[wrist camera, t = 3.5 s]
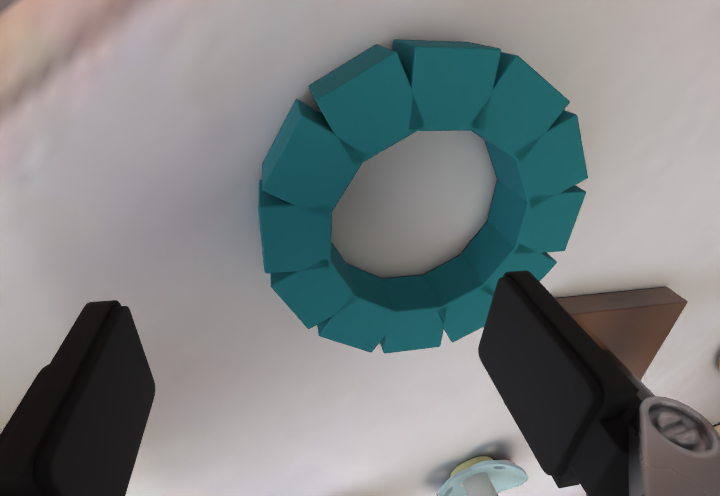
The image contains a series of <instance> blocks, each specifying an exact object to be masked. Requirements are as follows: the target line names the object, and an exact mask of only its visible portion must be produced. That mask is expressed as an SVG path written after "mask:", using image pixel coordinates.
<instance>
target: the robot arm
mask: <svg viewBox="0 0 720 496" xmlns="http://www.w3.org/2000/svg"><path fill="white" fill-rule="evenodd" d="M478 352H479V357H480V359H481V362H482V363H483V365H484V367H485V369H486V370H487V372H488V374H489V376H490V377H491V379H492V381H493V383H494V385H495V386H496V388H497V390H498V392H499V393H500V395H501V397H502V399H503V400H504V402H505V404H506V406H507V408H508V409H509V411H510V413H511V415H512V416H513V418H514V420H515V422H516V424H517V425H518V427H519V429H520V431H521V432H522V434H523V436H524V438H525V439H526V441H527V443H528V445H529V447H530V448H531V450H532V452H533V454H534V455H535V457H536V459H537V461H538V462H539V464H540V466H541V468H542V469H543V471H544V472H545V473H546V474H548V475H551V476H552V478H553V479H554V481H555V483H556V485H557V486H558V488H563V487H569V486H574V485H579V484H581V486H582V487H583V489H584V490H585V492H586V496H720V435H719V433H718V432H717V431H716V429H715V428H714V427H713V425H712V424H711V423H710V422H709V421H708V420H707V419H705V418H704V417H703V416H702V415H701V414H700V413H698V412H697V411H695V410H694V409H692V408H691V407H689V406H687V405H685V404H683V403H681V402H679V401H677V400H673V399H670V398H666V397H658V396H653V397H649V398H646V399H645V400H644V401H642V400H641V399H640V398H639V397H638V396H637V393H638V392H639V389H638V388H637V387H636V386H635V385H634V384H633V383H632V382H631V381H630V379H629V378H628V377H627V376H626V375H625V374H624V373H623V372H622V371H621V370H620V369H619V368H618V366H617V365H616V364H615V363H614V362H613V361H612V360H611V359H610V358H609V357H608V356H607V355H606V353H605V352H604V351H603V350H602V349H601V348H600V347H599V346H598V345H597V344H596V343H595V342H594V340H593V339H592V338H591V337H590V336H589V335H588V334H587V333H586V332H585V331H584V330H583V328H582V327H581V326H580V325H579V324H578V323H577V322H576V321H575V320H574V319H573V318H572V317H571V315H570V314H569V313H568V312H567V311H566V310H565V309H564V308H563V307H562V306H561V305H560V304H559V302H558V301H557V300H556V299H555V298H554V297H553V296H552V295H551V294H550V293H549V292H548V291H547V289H546V288H545V287H544V286H543V285H542V284H541V283H540V282H539V281H538V280H537V279H536V278H535V276H534V275H533V274H532V273H531V272H529V271H527V270H524V271H510V272H506V273H505V274H504V275H503V277H501V278H499V279H498V282H497V285H496V288H495V292H494V295H493V299H492V302H491V306H490V309H489V313H488V316H487V320H486V323H485V326H484V330H483V333H482V337H481V340H480V344H479V348H478ZM154 396H155V383H154V379H153V376H152V373H151V371H150V368H149V365H148V362H147V359H146V356H145V353H144V350H143V347H142V344H141V341H140V338H139V335H138V332H137V329H136V327H135V324H134V321H133V318H132V315H131V312H130V309H129V308H128V307H127V306H121V304H120V303H119V302H118V301H116V300H113V301H100V302H89V303H87V304H86V305H85V307H84V308H83V310H82V311H81V313H80V315H79V316H78V318H77V320H76V321H75V323H74V325H73V326H72V328H71V330H70V331H69V333H68V335H67V336H66V338H65V340H64V341H63V343H62V345H61V346H60V348H59V349H58V351H57V353H56V354H55V356H54V358H53V359H52V361H51V363H50V364H49V365H47V366H45V367H44V368H43V369H42V370H41V371H40V372H39V373H38V375H37V376H36V378H35V380H34V381H33V383H32V385H31V386H30V388H29V389H28V391H27V393H26V394H25V396H24V397H23V399H22V401H21V402H20V404H19V405H18V407H17V409H16V410H15V412H14V414H13V415H12V417H11V418H10V420H9V422H8V423H7V425H6V426H5V428H4V430H3V431H2V433H1V435H0V496H125V494H126V491H127V488H128V484H129V481H130V477H131V474H132V471H133V467H134V464H135V460H136V457H137V454H138V450H139V447H140V444H141V440H142V437H143V433H144V430H145V427H146V423H147V420H148V417H149V413H150V410H151V406H152V403H153V400H154Z"/></svg>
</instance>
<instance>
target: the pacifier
mask: <svg viewBox="0 0 720 496" xmlns="http://www.w3.org/2000/svg"><path fill="white" fill-rule="evenodd" d="M527 479H528V476H527V474H526V473H525V471H524V470H523V469H522V468H521V467H519V466H517V465H515V463H514V462H512V461H511V460H493V459H492V458H490V457H487V456H481V457H476V458H473V459H470V460H468V461H466V462H464V463H462V464H460V465H459V466H457V467H456V468H455V469H454V470H453V471H452V473H451V475H450V478H449V479H448V480H447V481H446V482H445V483H444V484H443V485H442V487H441V488H440V490H439V492H438V494H437V496H498V494H497V493H499V492H501V491H504V490H507V489H510V488H513V487H516V486H519V485H521V484H523V483H524V482H525V481H527Z"/></svg>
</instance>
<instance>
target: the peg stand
mask: <svg viewBox="0 0 720 496" xmlns="http://www.w3.org/2000/svg"><path fill="white" fill-rule="evenodd" d="M555 299H556V300H557V301H558V302H559V304H560V305H561V306H562V307H563V308H564V309H565V310H566V311H567V312H568V313H569V314H570V315H571V317H572V318H573V319H574V320H575V321H576V322H577V323H578V324H579V325H580V326H581V327H582V328H583V330H584V331H585V332H586V333H587V334H588V335H589V336H590V337H591V338H592V339H593V340H594V342H595V343H596V344H597V345H598V346H599V347H600V348H601V349H602V350H603V351H604V352H605V353H606V355H607V356H608V357H609V358H610V359H611V360H612V361H613V362H614V363H615V364H616V365H617V366H618V368H619V369H620V370H621V371H622V372H623V373H624V374H625V375H626V376H627V377H628V378H629V379H630V381H631V382H632V383H633V384H634V385H635V386H636V387H637V388H638V389H639V392H638V393H637V396H638V397H639V398H640V399H641V400H642V401H644V400H645V399H646V398H649V397H653V396H655V395H654V394H653V393H652V392H651V391H650V390H649V389H648V388H647V387H646V386H645V385H644V384H643V383H642V382H641V381H640V380H641V379H642V377H643V375H644V374H645V372H646V370H647V369H648V367H649V365H650V364H651V362H652V360H653V359H654V357H655V355H656V354H657V352H658V350H659V349H660V347H661V345H662V344H663V342H664V340H665V339H666V337H667V335H668V334H669V332H670V330H671V329H672V327H673V325H674V324H675V322H676V320H677V319H678V317H679V315H680V314H681V312H682V311H683V309H684V307H685V306H686V304H687V301H686V300H685V299H683V298H682V297H681V296H679V295H678V294H676V293H675V292H673V291H672V290H671V289H669V288H668V287H662V288H653V289H643V290H633V291H623V292H614V293H604V294H594V295H584V296H575V297H565V298H555ZM504 403H505V402H504ZM505 405H506V404H505ZM506 407H507V406H506ZM508 410H509V409H508ZM509 412H510V411H509ZM512 417H513V416H512Z"/></svg>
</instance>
